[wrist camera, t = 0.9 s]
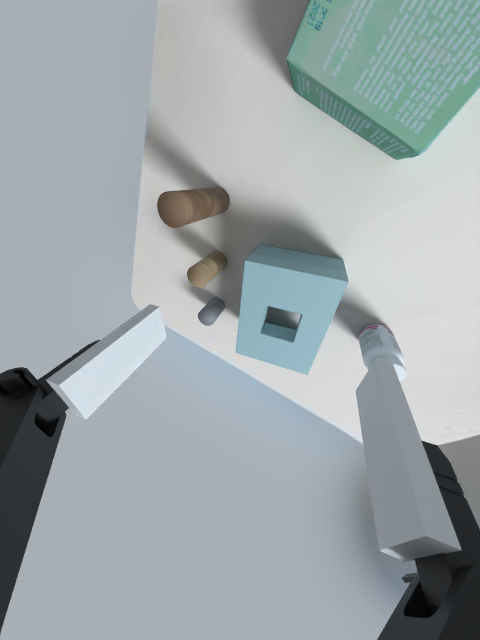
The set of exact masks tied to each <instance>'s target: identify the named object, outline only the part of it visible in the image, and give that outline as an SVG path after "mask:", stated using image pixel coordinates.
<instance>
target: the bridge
mask: <svg viewBox="0 0 480 640" xmlns="http://www.w3.org/2000/svg"><path fill="white" fill-rule="evenodd" d="M347 284H348V278H347V274H346V269H345V265H344V261H343V259H338V258H333V257H327V256H322V255H317V254H311V253H306V252H300V251H295V250H289V249H284V248H278V247H273V246H267V245H262V244H261V245H260V246H259V247H258V248H257V249H256V250H255V251H254V252H253V253H252V254H251V255H250V256H249V257H248V258H247V259H246V260H245V265H244V275H243V285H242V295H241V304H240V314H239V324H238V334H237V344H236V353H238V354H242V355H245V356H248V357H251V358H255V359H258V360H261V361H264V362H267V363H271V364H274V365H277V366H280V367H284V368H287V369H290V370H293V371H297V372H300V373H303V374H306V375H308V372H309V370H310V368H311V365H312V363H313V361H314V359H315V356H316V354H317V352H318V350H319V347H320V345H321V343H322V341H323V338H324V336H325V334H326V332H327V329H328V327H329V325H330V322H331V320H332V318H333V316H334V313H335V311H336V309H337V307H338V304H339V302H340V300H341V298H342V295H343V293H344V291H345V289H346V286H347ZM268 306H270V307H274V308H278V309H282V310H286V311H290V312H294V313H298V314H301V316H300V319H299V322H298V325H297V329H296V330H294V329H290V328H286V327H282V326H279V325H275V324H271V323H267V322H265V319H266V313H267V308H268Z"/></svg>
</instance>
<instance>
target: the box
mask: <svg viewBox="0 0 480 640" xmlns="http://www.w3.org/2000/svg"><path fill="white" fill-rule="evenodd" d="M287 62H288V66H289V71H290V75H291V79H292V83H293V88H294V91H295V92H297V93H298V94H299V95H300V96H301V97H303V98H304V99H306V100H307V101H309V102H310V103H312V104H313V105H315V106H316V107H318V108H319V109H321V110H322V111H324V112H325V113H327V114H328V115H329V116H331V117H332V118H334V119H335V120H337V121H338V122H340V123H341V124H343V125H344V126H346V127H347V128H349V129H350V130H352V131H353V132H355V133H356V134H358V135H359V136H361V137H362V138H364V139H365V140H367V141H368V142H370V143H371V144H373V145H374V146H376V147H377V148H379V149H380V150H382V151H383V152H385V153H386V154H388V155H389V156H391V157H392V158H394V159H396V160H399V159H403V158H410V157H415V156H418V155H420V154H421V153H423V152H425V151H426V150H427V149H428V147H429V146H430V145H431V144H432V142H433V141H434V140H435V139H436V138H437V136H438V135H439V134H440V133H441V132H442V130H443V129H444V128H445V127H446V126H447V124H448V123H449V122H450V121H451V120H452V119H453V118H454V116H455V115H456V114H457V113H458V112H459V111H460V109H461V108H462V107H463V106H464V105H465V104H466V103H467V101H468V100H469V99H470V98H471V97H472V96H473V95H474V93H475V92H476V91H477V90H478V89H479V88H480V0H309V3H308V5H307V8H306V10H305V13H304V15H303V18H302V20H301V23H300V25H299V28H298V30H297V32H296V35H295V37H294V40H293V42H292V45H291V47H290V49H289V52H288V55H287Z"/></svg>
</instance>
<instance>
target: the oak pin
mask: <svg viewBox="0 0 480 640" xmlns="http://www.w3.org/2000/svg"><path fill="white" fill-rule="evenodd" d="M226 265H227V259H226V257H225V255H224V254H223V253H221V252H218V251H215V252H213V253H211V254H210V255H208V256H207V257H205V258H204V259H202V260H201V261H199V262H198V263H196V264H195V265H193V266H192V267H190V268H189V269H188V272H187V277H188V279H189V281H190V283H191V284H192V285H194V286H196V287H204V286H205V285H206V284H207V283H208V282H209V281H210V280H212V279H213V278H214V277H215V276H216V275H217V274H218V273H219V272H221V271H222V270H223V269H224V268H225V267H226Z"/></svg>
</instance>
